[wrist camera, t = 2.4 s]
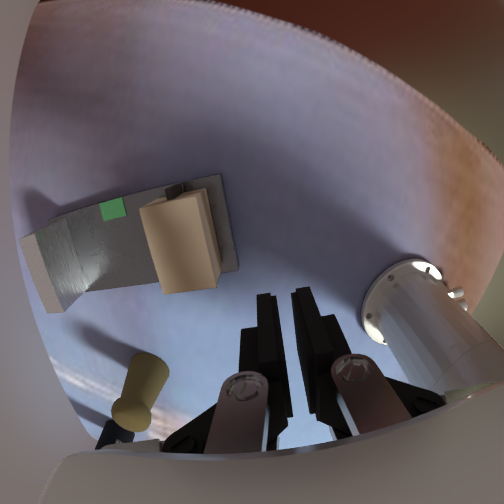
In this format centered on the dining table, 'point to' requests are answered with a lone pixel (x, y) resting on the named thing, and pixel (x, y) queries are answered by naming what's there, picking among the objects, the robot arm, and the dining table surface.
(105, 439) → the black water bottle
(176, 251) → the block
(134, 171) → the dining table surface
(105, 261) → the gauge rail
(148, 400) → the olive brown pawn
